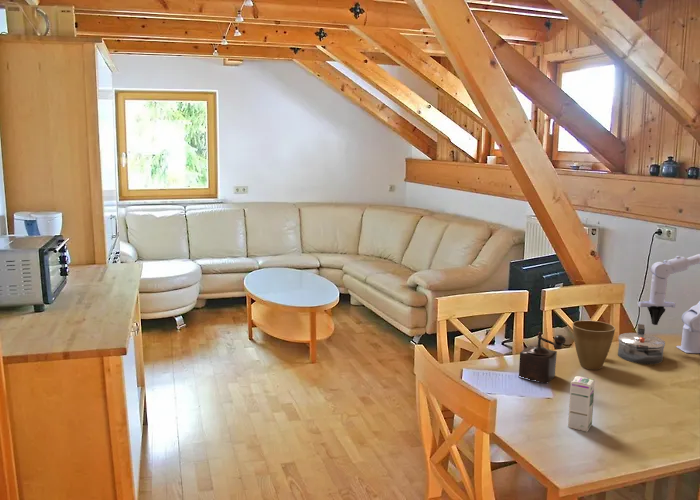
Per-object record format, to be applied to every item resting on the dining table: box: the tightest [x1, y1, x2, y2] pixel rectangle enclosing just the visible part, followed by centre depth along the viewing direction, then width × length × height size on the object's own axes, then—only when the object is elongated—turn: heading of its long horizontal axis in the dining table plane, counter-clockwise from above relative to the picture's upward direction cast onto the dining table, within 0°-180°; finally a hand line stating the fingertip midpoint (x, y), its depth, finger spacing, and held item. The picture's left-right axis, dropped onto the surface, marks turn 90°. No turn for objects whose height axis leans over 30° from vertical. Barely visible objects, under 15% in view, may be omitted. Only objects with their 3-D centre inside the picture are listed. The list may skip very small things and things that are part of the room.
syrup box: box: [567, 375, 596, 433], centre depth 189 cm, size 6×6×14 cm
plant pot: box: [572, 319, 616, 371], centre depth 239 cm, size 15×15×16 cm
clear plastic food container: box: [617, 340, 665, 365], centre depth 252 cm, size 23×16×6 cm
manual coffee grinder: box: [518, 331, 566, 384], centre depth 226 cm, size 16×11×18 cm
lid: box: [618, 323, 666, 350], centre depth 252 cm, size 25×17×3 cm, turn 157°
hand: (654, 324), depth 260 cm, fingers closed
